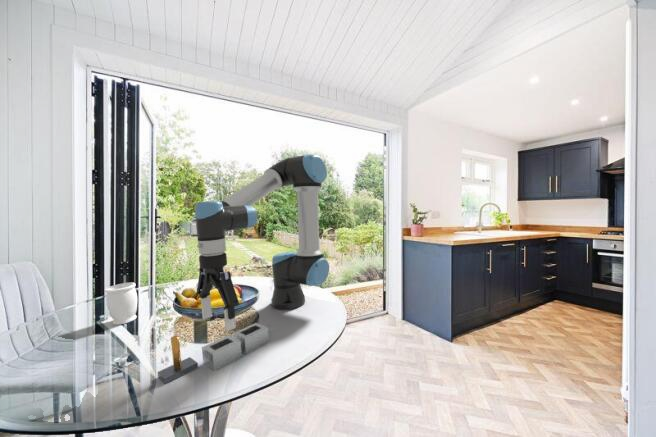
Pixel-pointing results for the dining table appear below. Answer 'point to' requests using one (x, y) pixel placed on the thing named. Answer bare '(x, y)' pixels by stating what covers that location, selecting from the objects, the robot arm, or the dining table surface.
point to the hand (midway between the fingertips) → (218, 323)
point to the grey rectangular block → (221, 352)
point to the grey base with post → (176, 364)
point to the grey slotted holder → (252, 337)
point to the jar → (122, 302)
